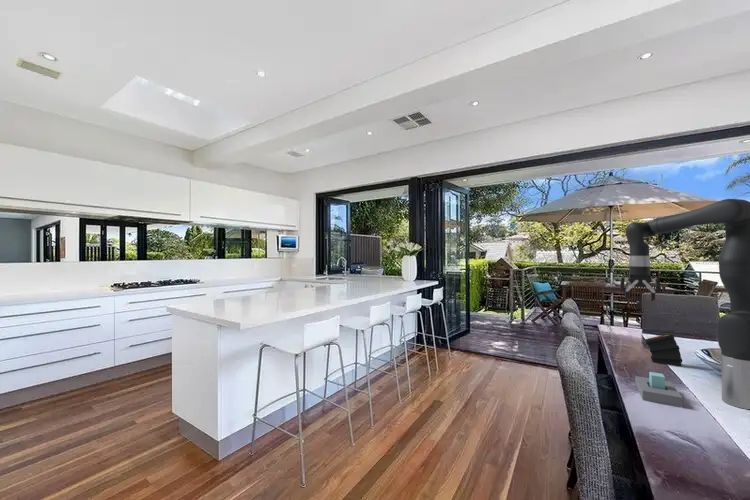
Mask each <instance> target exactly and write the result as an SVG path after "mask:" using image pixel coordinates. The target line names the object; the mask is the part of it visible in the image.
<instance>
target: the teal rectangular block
mask: <svg viewBox="0 0 750 500" xmlns="http://www.w3.org/2000/svg"><path fill="white" fill-rule="evenodd" d="M648 378H649V387H652V388H658V389H664V390H665V381H666V377H665V375H664V374H663V373H661V372H660V373H659V372H653V371H649V375H648Z"/></svg>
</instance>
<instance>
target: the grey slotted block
mask: <svg viewBox="0 0 750 500" xmlns="http://www.w3.org/2000/svg"><path fill="white" fill-rule="evenodd" d="M635 386H636V389H637V390H638V391H637V392H638V393H639V395H640V397H641V399H642V401H647V402H652V403H657V404H664V405H668V406H673V407H679V408H683V396H682V395H681V394H680V392H679V390H677V388H676V387H675V385H674V384H673V383H672V381H669V380H668V381H667V380H665V390H664V389H658V388H652V387H649V377H644V376H638V375H635Z"/></svg>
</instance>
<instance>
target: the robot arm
mask: <svg viewBox="0 0 750 500" xmlns="http://www.w3.org/2000/svg"><path fill="white" fill-rule="evenodd" d="M708 224H724V231H725V237H724V238H725V239H724V242H723V245H722V248H721V251H720V253H719V256H718V269H719V270H718V272H719V278H720V280H721V283H722V285H723V287H724V288H725V290H726V292H727V295H728V297H729V303H730V309H729V310H730V312H729V313H727V314H723V315H722V316H720V317H719V319H718V321H717V324H716V325H717V329H716V330H717V341H718V342H717V343H718V347H719V349H720V351H721V355H720V356H721V357H720V358H721V359H720V360H721V400H722V402H724V403H726V404H728V405H730V406H733V407H737V408H740V409H745V410H750V201H748V200H746V199H741V198H725V199H721V200H718V201H716V202H713V203H711V204H707V205H705V206H701V207H699V208H696V209H692V210H690V211H689V210H688V211H686V212H685V211H684V212H680V213H676V214H671V215H667V216H662V217H657V218H655V219H652V220H650V221H644V222H639V221H638V222H631V223H629V224H628V225H627V227H626V229H625V237H626V240H627V243H628V246H629V259H628V275H629V276H628V277H623V276H622V277H620V285H619V289H620V291H621V290H622V291H623V292H624V298H625V299H626V300H628V301H629V300H630V290H631V289H633V287H635V288H647V289H648V290H649V291H650V293H649V296H650V298H649V299H650V301H651V302H654V301H656V293H660V292H661V281H660V278H657V277H655V278H652V277H651V259H650V245H649V243H647V242H645V240H644V238H649V237H654V236H657V235H660V234H667V233H673V232H677V231H678V232H679V231H681V230H685V229H688V228H691V227H695V226H701V225H708ZM627 281H628V282H629V284H628V285H627V286H626V287H625V283H627ZM650 283H654V284H655V289H654V288H653V287H652V286H651V285H650Z"/></svg>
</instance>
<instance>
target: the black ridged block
mask: <svg viewBox="0 0 750 500" xmlns="http://www.w3.org/2000/svg"><path fill="white" fill-rule="evenodd" d="M645 344H646V346H648V347H649V352H650V354H651V355H650V359H651V362H652V363H655V364H660V365H661V364H662V365H668V366H673V367H674V366H675V367H680V368H682V367H683V366H682V365H683V364H682V363H683V359H682V357H681V356H682V355H681V352H680V346H679V345H678V343H677V341H676V339H675V336H674V335H672V333H666V334H661V335H658V336H654V337H649V338H645Z"/></svg>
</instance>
